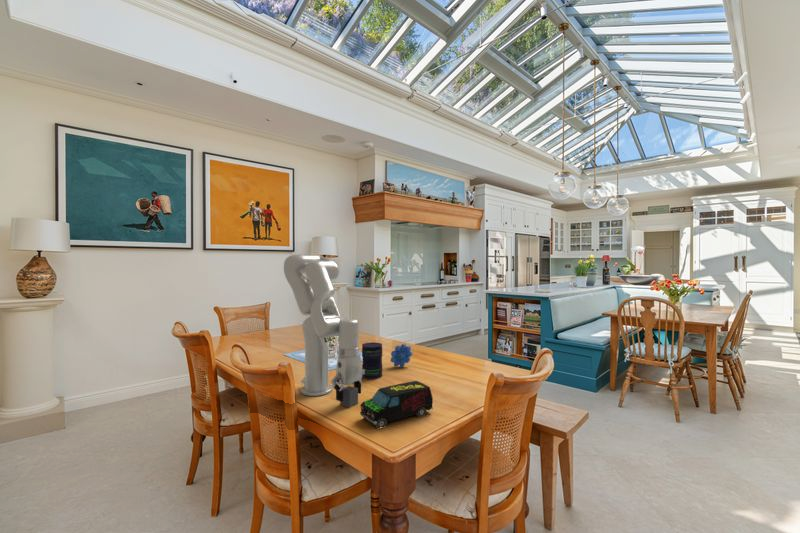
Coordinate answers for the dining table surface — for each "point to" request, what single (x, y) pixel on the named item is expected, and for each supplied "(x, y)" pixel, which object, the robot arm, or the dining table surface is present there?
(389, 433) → the dining table surface
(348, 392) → the grey block
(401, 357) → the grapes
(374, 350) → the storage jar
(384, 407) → the toy van
